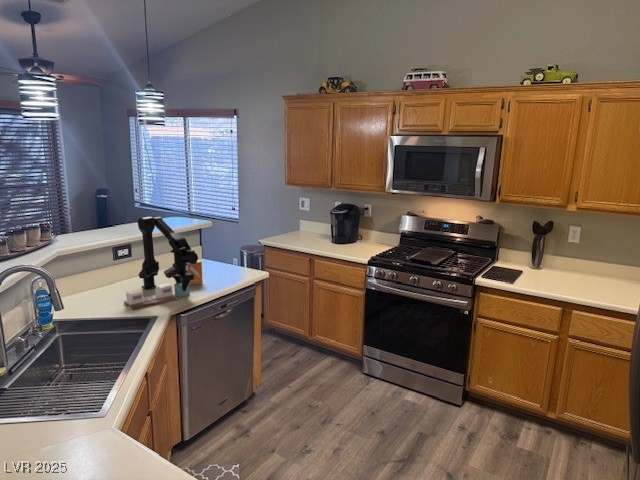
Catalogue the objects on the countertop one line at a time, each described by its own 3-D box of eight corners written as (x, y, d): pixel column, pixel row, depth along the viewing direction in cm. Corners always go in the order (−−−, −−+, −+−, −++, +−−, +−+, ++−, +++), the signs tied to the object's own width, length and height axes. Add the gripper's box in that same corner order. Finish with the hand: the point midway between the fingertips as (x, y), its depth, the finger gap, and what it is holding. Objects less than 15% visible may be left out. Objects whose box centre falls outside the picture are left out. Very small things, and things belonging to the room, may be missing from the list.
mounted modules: (126, 301, 219) (126, 291, 218) (167, 292, 233) (167, 283, 232) (131, 304, 215) (130, 294, 214) (173, 295, 229) (172, 285, 228)
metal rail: (126, 302, 219) (125, 301, 219) (168, 292, 234) (168, 291, 234) (130, 305, 215) (130, 304, 215) (173, 295, 229) (173, 294, 229)
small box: (189, 285, 250) (187, 263, 248) (185, 283, 256) (184, 261, 253) (203, 283, 255) (201, 261, 252) (199, 280, 260) (198, 259, 257)
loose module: (174, 294, 236) (174, 283, 234) (185, 292, 240) (184, 281, 238) (179, 297, 232) (178, 286, 231) (189, 294, 236) (189, 283, 235)
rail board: (124, 303, 222) (123, 301, 221) (166, 294, 236) (166, 291, 236) (133, 310, 213) (132, 307, 213) (176, 299, 228) (176, 297, 227)
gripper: (157, 260, 233) (159, 289, 237) (173, 267, 220) (175, 297, 223) (177, 257, 241) (179, 284, 244) (193, 263, 227) (195, 292, 231)
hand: (181, 289), depth 235 cm, fingers open, 6 cm apart
